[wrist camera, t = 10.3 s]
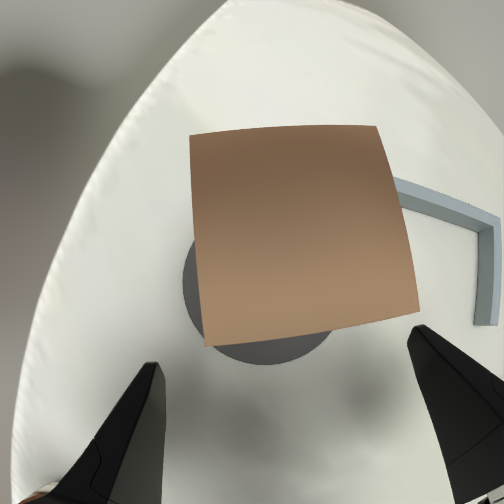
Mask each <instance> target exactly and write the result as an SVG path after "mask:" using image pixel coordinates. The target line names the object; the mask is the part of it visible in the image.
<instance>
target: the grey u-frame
mask: <svg viewBox="0 0 504 504" xmlns="http://www.w3.org/2000/svg"><path fill="white" fill-rule="evenodd" d="M393 179H394V183H395V186H396V190H397V194H398V197H399V201H400V205H401V207H404V208H407V209H411V210H414V211H417V212H420V213H423V214H426V215H429V216H432V217H436V218H438V219H441V220H444V221H447V222H450V223H453V224H456V225H459V226H462V227H464V228H467V229H470V230H473V231H475V232H478V233H479V264H478V286H477V299H476V309H475V318H474V325H479V326H498V318H499V307H500V294H501V272H502V246H501V224H500V218H499V217H497V216H495V215H493V214H491V213H488V212H486V211H484V210H482V209H479V208H477V207H475V206H472V205H470V204H467V203H465V202H462V201H460V200H457V199H455V198H452V197H450V196H447V195H445V194H442V193H439V192H437V191H434V190H431V189H429V188H426V187H423V186H420V185H417V184H414V183H411V182H408V181H405V180H402V179H399V178H396V177H393Z"/></svg>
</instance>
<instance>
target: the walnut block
mask: <svg viewBox="0 0 504 504" xmlns="http://www.w3.org/2000/svg"><path fill="white" fill-rule="evenodd" d="M189 140H190V169H191V191H192V208H193V224H194V238H195V251H196V263H197V274H198V285H199V295H200V304H201V314H202V323H203V331H204V339H205V347H208V346H219V345H229V344H239V343H248V342H256V341H265V340H272V339H280V338H287V337H294V336H300V335H307V334H313V333H319V332H325V331H330V330H336V329H341V328H347V327H352V326H357V325H362V324H367V323H372V322H376V321H381V320H386V319H390V318H394V317H399V316H403V315H407V314H411V313H415V312H419V311H420V307H419V299H418V292H417V285H416V278H415V272H414V266H413V261H412V255H411V250H410V245H409V240H408V235H407V231H406V226H405V222H404V217H403V213H402V209H401V205H400V201H399V197H398V194H397V190H396V186H395V183H394V179H393V176H392V173H391V169H390V166H389V163H388V160H387V156H386V153H385V150H384V147H383V144H382V141H381V138H380V136H379V133H378V130H377V127H376V126H363V125H304V126H281V127H264V128H251V129H240V130H230V131H221V132H213V133H205V134H197V135H190V136H189Z"/></svg>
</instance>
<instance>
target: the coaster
mask: <svg viewBox="0 0 504 504" xmlns="http://www.w3.org/2000/svg"><path fill="white" fill-rule="evenodd" d="M183 295H184V300H185V304H186V307H187V310H188V313H189V316H190V318H191V320H192V322H193V324H194V325H195V327H196V328H197V330H198V331H199V333H200V334H201V335H202V336H203V337H204V331H203V323H202V314H201V304H200V295H199V285H198V274H197V263H196V251H195V240H194V242H193V244H192V246H191V248H190V250H189V252H188V255H187V258H186V261H185V266H184V271H183ZM331 331H332V330H330V331H325V332H319V333H313V334H307V335H300V336H294V337H287V338H280V339H272V340H265V341H256V342H248V343H239V344H229V345H219V346H213V347H214V348H216V349H217V350H219V351H220V352H222V353H223V354H225V355H227V356H229V357H231V358H233V359H235V360H239V361H242V362H245V363H250V364H256V365H273V364H280V363H285V362H289V361H292V360H294V359H297V358H299V357H301V356H303V355H305V354H307V353H309V352H310V351H312V350H313V349H314V348H316V347H317V346H318V345H319V344H320V343H321V342H322V341H323V340H325V339H326V338H327V336H328V335H329V334H330V332H331Z"/></svg>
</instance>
